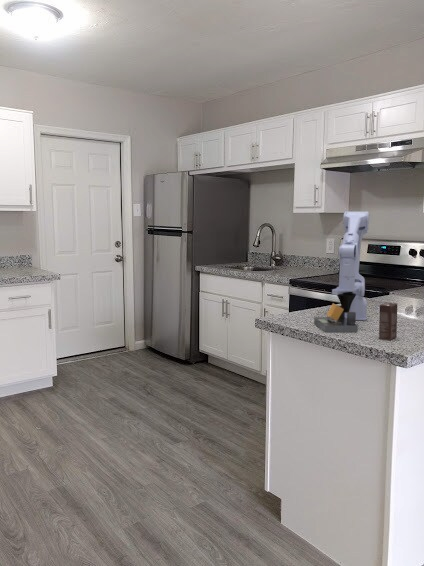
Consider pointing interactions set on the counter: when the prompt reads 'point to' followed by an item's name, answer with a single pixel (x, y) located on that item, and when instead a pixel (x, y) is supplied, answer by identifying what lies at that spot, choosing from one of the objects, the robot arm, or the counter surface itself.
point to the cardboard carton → (334, 312)
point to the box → (388, 321)
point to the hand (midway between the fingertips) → (345, 312)
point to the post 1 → (342, 314)
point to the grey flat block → (334, 325)
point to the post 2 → (351, 318)
